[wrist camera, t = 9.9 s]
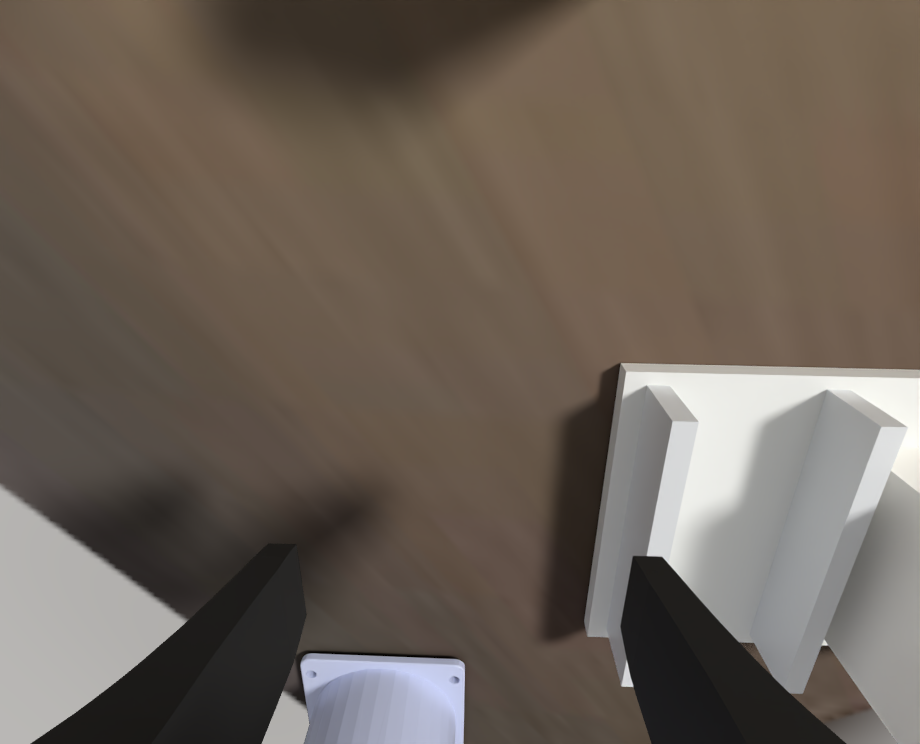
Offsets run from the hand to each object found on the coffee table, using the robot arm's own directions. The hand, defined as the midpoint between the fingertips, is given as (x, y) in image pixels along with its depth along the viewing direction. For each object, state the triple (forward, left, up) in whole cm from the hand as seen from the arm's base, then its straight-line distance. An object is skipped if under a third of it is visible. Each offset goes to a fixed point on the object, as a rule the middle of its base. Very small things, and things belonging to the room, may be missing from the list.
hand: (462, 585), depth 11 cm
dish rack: (-5, -13, -9) cm, 17 cm away
